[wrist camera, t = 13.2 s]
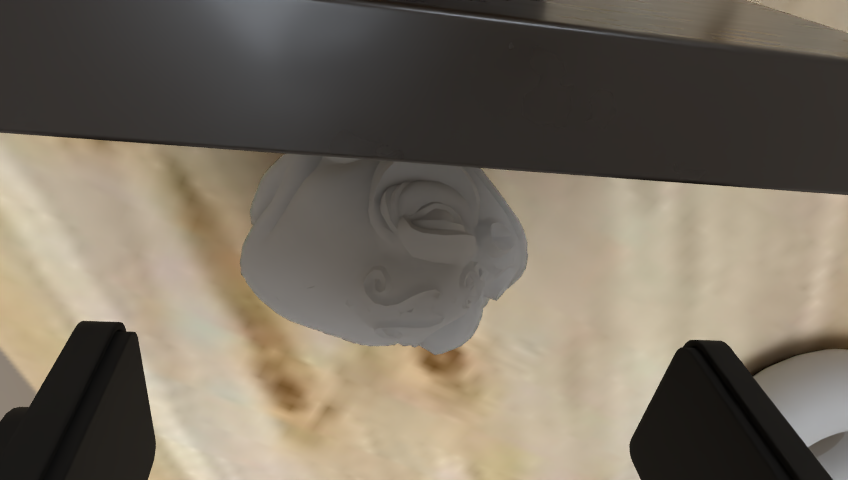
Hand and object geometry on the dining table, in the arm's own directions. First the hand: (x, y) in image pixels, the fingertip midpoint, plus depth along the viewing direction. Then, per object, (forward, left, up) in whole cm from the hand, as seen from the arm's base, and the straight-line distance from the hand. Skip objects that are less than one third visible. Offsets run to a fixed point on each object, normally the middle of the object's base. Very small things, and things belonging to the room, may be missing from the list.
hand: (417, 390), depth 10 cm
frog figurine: (0, 0, -10) cm, 10 cm away
